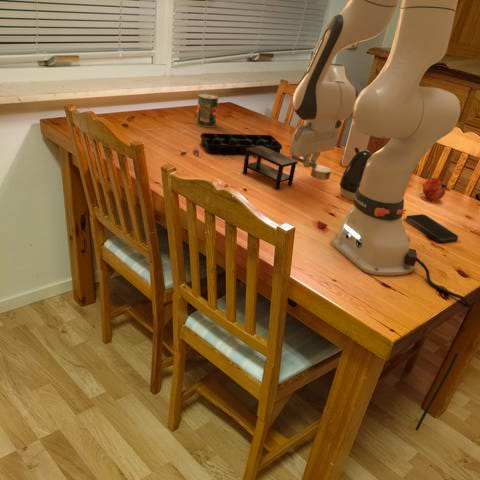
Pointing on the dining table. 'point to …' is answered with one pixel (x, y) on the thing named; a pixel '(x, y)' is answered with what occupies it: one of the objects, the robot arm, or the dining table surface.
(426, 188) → the pomegranate
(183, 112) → the dining table surface
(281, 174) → the rack
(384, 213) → the robot arm
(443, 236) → the phone
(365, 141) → the milk carton
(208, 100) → the canned tomato
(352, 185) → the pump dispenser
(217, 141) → the egg carton
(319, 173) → the ladle
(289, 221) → the dining table surface
